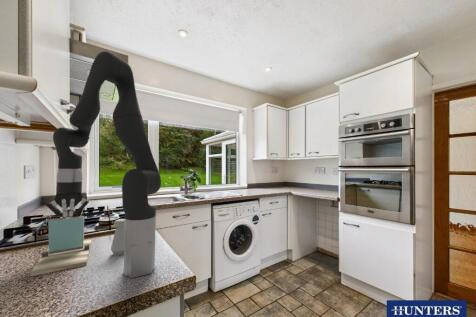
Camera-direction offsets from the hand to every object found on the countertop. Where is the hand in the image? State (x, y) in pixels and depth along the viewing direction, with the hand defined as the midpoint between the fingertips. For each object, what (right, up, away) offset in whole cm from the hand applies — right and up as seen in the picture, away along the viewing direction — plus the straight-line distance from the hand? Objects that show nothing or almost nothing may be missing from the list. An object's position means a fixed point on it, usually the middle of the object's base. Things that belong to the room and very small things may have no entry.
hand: (68, 226), depth 78 cm
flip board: (0, -11, 0) cm, 11 cm away
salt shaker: (+18, -11, +2) cm, 22 cm away
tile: (0, -3, -1) cm, 3 cm away
